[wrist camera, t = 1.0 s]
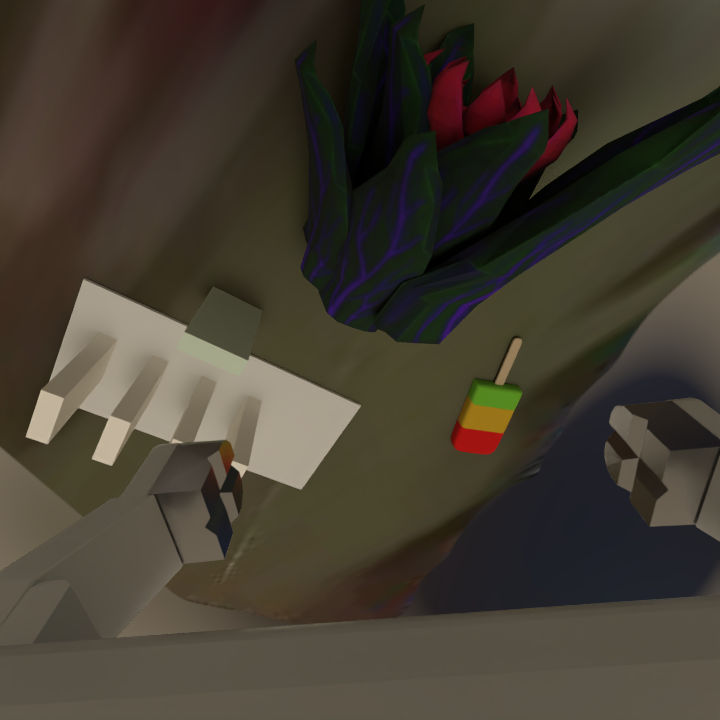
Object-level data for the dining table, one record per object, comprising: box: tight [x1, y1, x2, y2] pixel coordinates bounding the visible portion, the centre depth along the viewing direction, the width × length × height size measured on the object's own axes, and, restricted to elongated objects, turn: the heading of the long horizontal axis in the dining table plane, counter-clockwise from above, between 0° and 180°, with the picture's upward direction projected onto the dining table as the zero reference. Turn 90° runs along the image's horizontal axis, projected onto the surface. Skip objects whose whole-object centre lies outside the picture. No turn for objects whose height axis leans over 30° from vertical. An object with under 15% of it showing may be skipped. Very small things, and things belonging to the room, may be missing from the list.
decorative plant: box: [295, 0, 720, 344], centre depth 28 cm, size 21×26×30 cm
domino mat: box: [49, 278, 361, 490], centre depth 46 cm, size 29×14×1 cm, turn 59°
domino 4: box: [176, 286, 263, 377], centre depth 37 cm, size 2×5×10 cm, turn 59°
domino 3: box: [169, 376, 217, 444], centre depth 41 cm, size 2×5×10 cm, turn 148°
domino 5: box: [225, 396, 262, 478], centre depth 43 cm, size 2×5×10 cm, turn 149°
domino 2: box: [92, 355, 169, 466], centre depth 40 cm, size 2×5×10 cm, turn 149°
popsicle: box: [451, 338, 522, 454], centre depth 49 cm, size 6×15×2 cm, turn 167°
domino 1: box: [26, 333, 117, 444], centre depth 38 cm, size 2×5×10 cm, turn 149°
